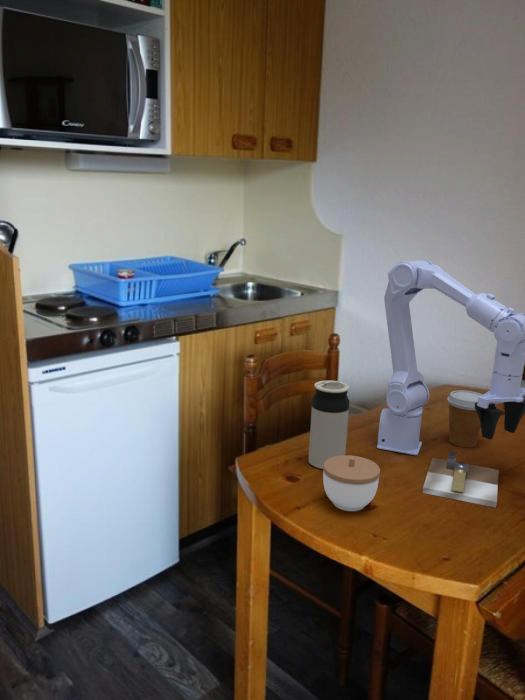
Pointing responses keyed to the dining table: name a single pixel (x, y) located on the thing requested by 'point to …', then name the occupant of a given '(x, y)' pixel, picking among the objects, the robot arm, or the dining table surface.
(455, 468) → the bar
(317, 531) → the dining table surface
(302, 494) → the dining table surface
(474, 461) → the dining table surface
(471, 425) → the disposable coffee cup
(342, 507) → the lidded jar
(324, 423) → the travel mug
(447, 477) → the door edge board
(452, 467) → the keeper block
